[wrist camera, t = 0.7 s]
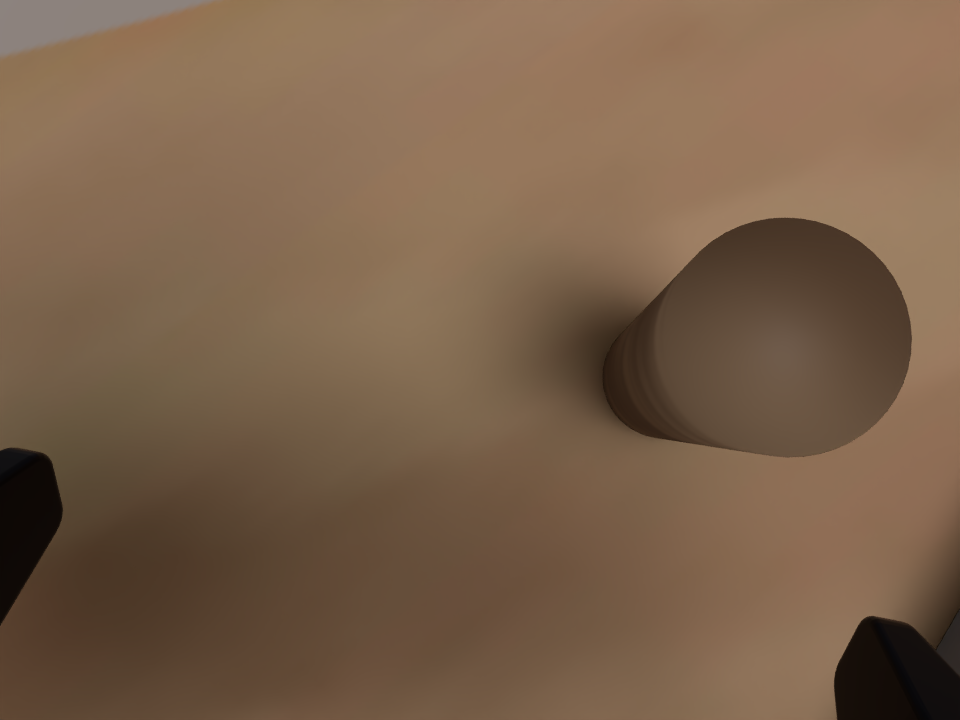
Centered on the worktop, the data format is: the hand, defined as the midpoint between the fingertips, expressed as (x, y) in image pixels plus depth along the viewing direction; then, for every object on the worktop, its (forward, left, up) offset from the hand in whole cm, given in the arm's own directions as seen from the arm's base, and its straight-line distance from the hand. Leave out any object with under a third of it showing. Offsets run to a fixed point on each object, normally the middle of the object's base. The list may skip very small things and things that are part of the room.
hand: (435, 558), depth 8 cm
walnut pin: (+5, -3, -14) cm, 15 cm away
